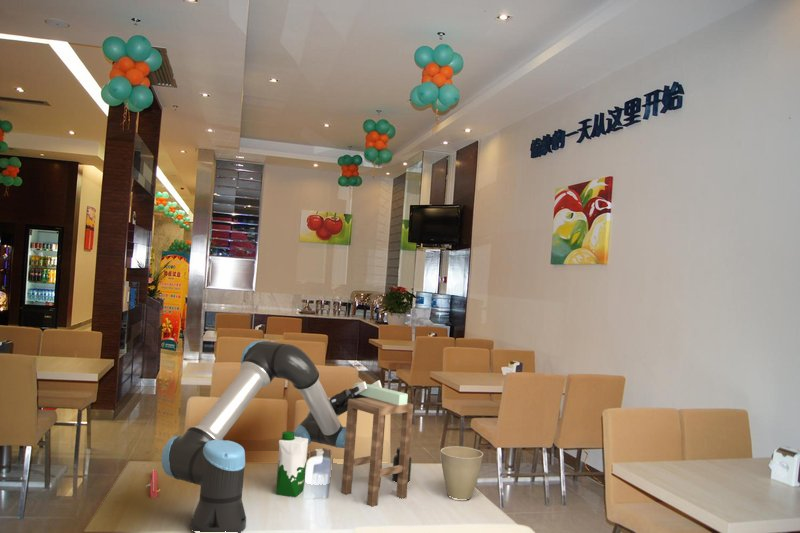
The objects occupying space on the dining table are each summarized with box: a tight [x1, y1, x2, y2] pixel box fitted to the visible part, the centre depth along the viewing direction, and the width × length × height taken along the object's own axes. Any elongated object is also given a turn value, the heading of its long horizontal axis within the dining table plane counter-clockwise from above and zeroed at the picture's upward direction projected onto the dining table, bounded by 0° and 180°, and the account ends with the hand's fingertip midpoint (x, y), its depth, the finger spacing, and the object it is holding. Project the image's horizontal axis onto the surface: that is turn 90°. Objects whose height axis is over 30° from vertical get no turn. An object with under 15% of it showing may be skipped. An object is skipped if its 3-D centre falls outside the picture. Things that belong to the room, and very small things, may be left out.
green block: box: [353, 382, 409, 405], centre depth 217 cm, size 24×4×4 cm, turn 44°
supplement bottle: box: [391, 446, 413, 483], centre depth 227 cm, size 7×7×12 cm
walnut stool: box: [340, 397, 414, 508], centre depth 210 cm, size 16×16×32 cm
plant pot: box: [440, 446, 484, 499], centre depth 214 cm, size 15×15×16 cm
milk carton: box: [275, 430, 309, 498], centre depth 206 cm, size 9×9×20 cm
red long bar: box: [145, 468, 161, 499], centre depth 204 cm, size 24×2×5 cm
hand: (372, 384), depth 220 cm, fingers open, 6 cm apart
